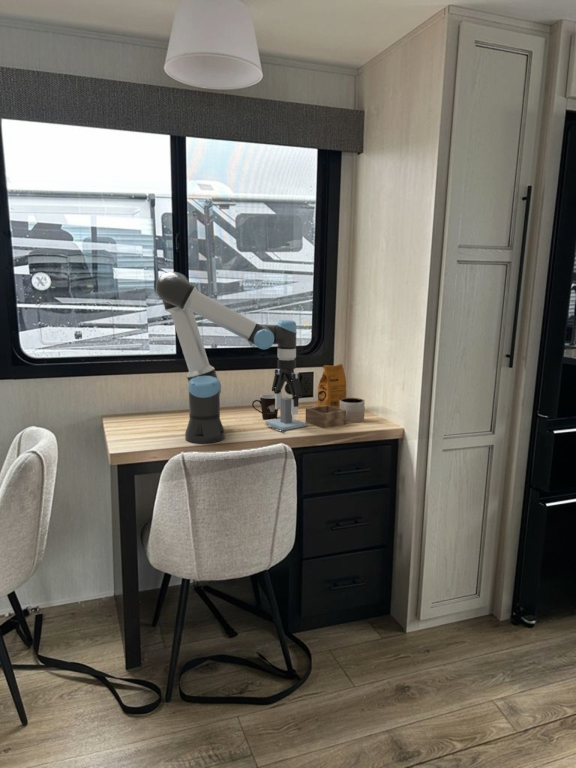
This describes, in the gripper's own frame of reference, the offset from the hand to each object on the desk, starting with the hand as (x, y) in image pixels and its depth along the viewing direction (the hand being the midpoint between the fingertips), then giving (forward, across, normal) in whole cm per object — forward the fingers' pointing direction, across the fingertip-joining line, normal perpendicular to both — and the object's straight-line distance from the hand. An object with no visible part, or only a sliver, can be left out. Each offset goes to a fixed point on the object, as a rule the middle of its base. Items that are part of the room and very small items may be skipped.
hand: (286, 411), depth 241 cm
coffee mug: (+7, +18, -2) cm, 19 cm away
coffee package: (+7, +13, -35) cm, 38 cm away
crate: (+7, -6, -16) cm, 18 cm away
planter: (+7, -7, -30) cm, 31 cm away
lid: (+7, 0, 0) cm, 7 cm away
